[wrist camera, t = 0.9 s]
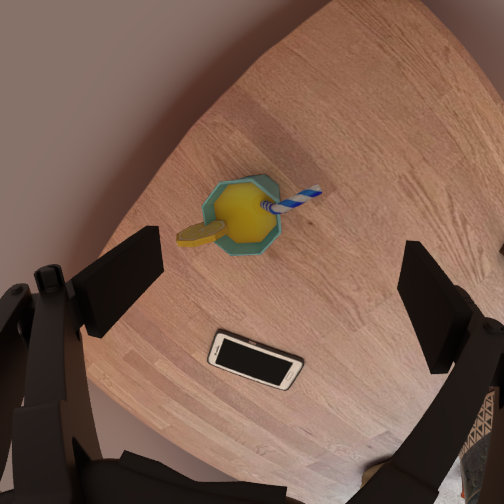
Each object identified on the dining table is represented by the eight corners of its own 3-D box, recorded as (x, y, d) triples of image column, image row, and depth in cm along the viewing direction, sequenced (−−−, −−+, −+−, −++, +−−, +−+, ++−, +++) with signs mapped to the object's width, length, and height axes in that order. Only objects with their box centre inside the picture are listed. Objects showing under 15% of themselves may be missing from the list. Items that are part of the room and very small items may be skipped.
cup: (302, 137, 34) (295, 142, 20) (331, 195, 36) (343, 237, 22) (203, 190, 39) (146, 226, 25) (233, 241, 41) (193, 300, 27)
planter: (438, 403, 46) (459, 495, 26) (520, 352, 38) (563, 433, 19) (455, 439, 50) (470, 512, 30) (523, 399, 42) (551, 467, 23)
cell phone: (287, 388, 49) (287, 392, 48) (207, 359, 50) (205, 362, 49) (306, 359, 46) (306, 363, 45) (217, 327, 47) (216, 330, 46)
